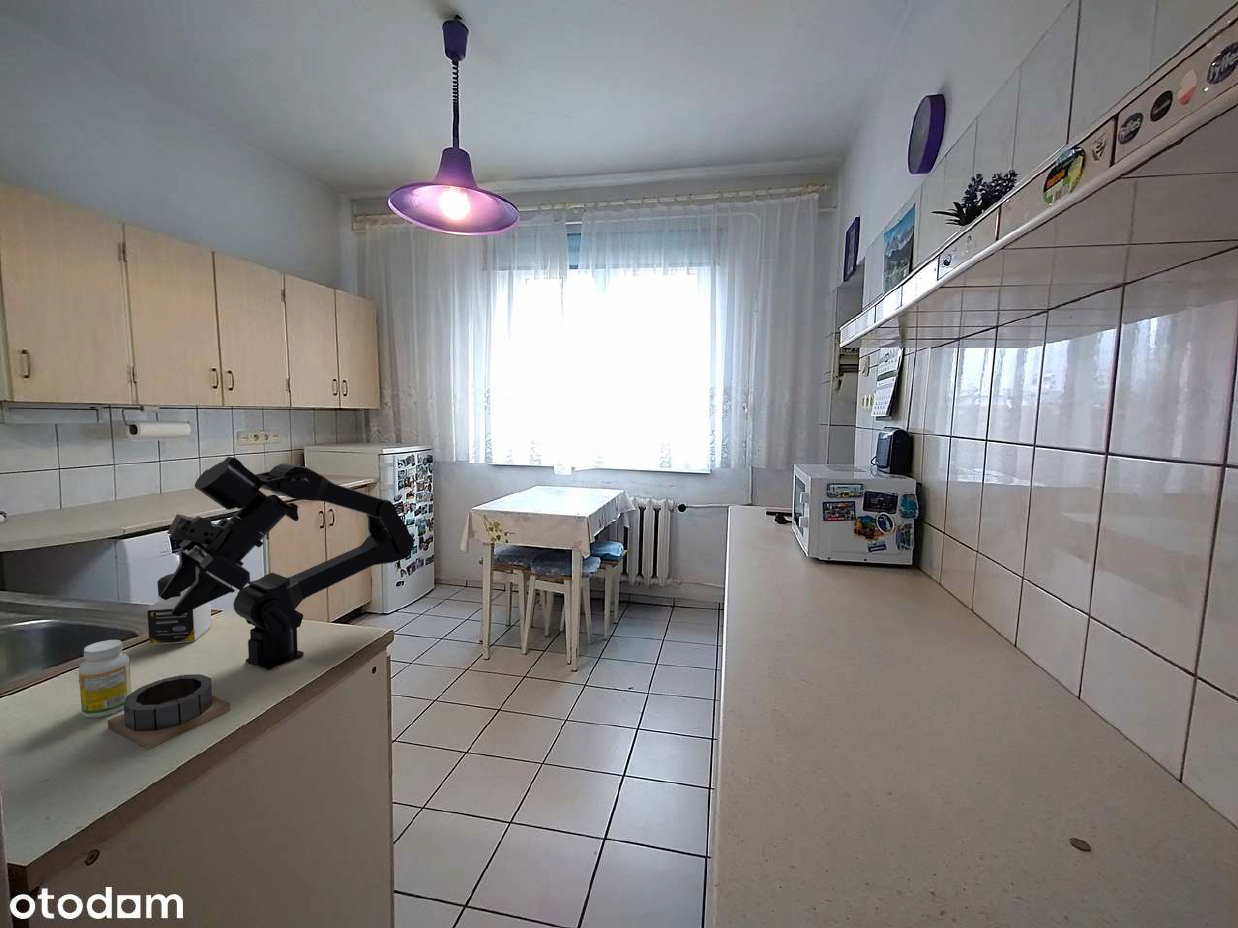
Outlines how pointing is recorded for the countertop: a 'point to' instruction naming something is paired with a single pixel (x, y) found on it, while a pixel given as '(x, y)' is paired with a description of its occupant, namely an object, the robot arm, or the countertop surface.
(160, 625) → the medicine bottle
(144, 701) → the socket holder
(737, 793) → the countertop surface
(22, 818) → the countertop surface
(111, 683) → the supplement bottle
